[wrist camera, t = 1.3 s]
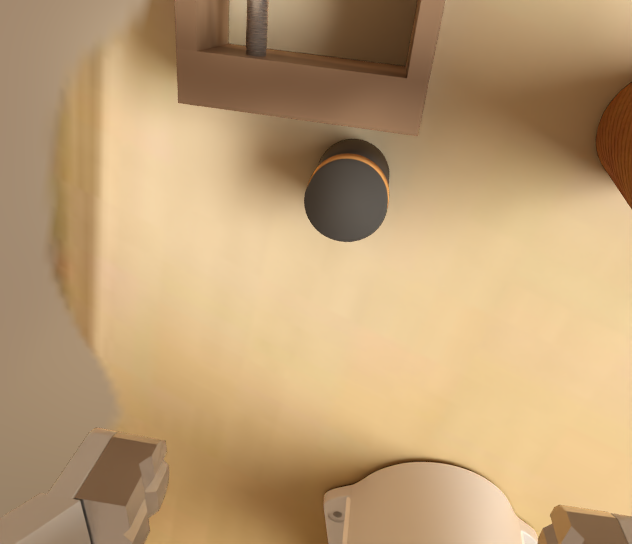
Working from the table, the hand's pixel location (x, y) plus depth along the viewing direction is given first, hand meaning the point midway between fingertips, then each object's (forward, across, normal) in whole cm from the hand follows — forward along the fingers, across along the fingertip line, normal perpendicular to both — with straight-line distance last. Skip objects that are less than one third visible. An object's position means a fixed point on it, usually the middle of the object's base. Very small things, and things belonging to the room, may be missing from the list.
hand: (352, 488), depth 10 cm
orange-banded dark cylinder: (+22, +1, +1) cm, 23 cm away
